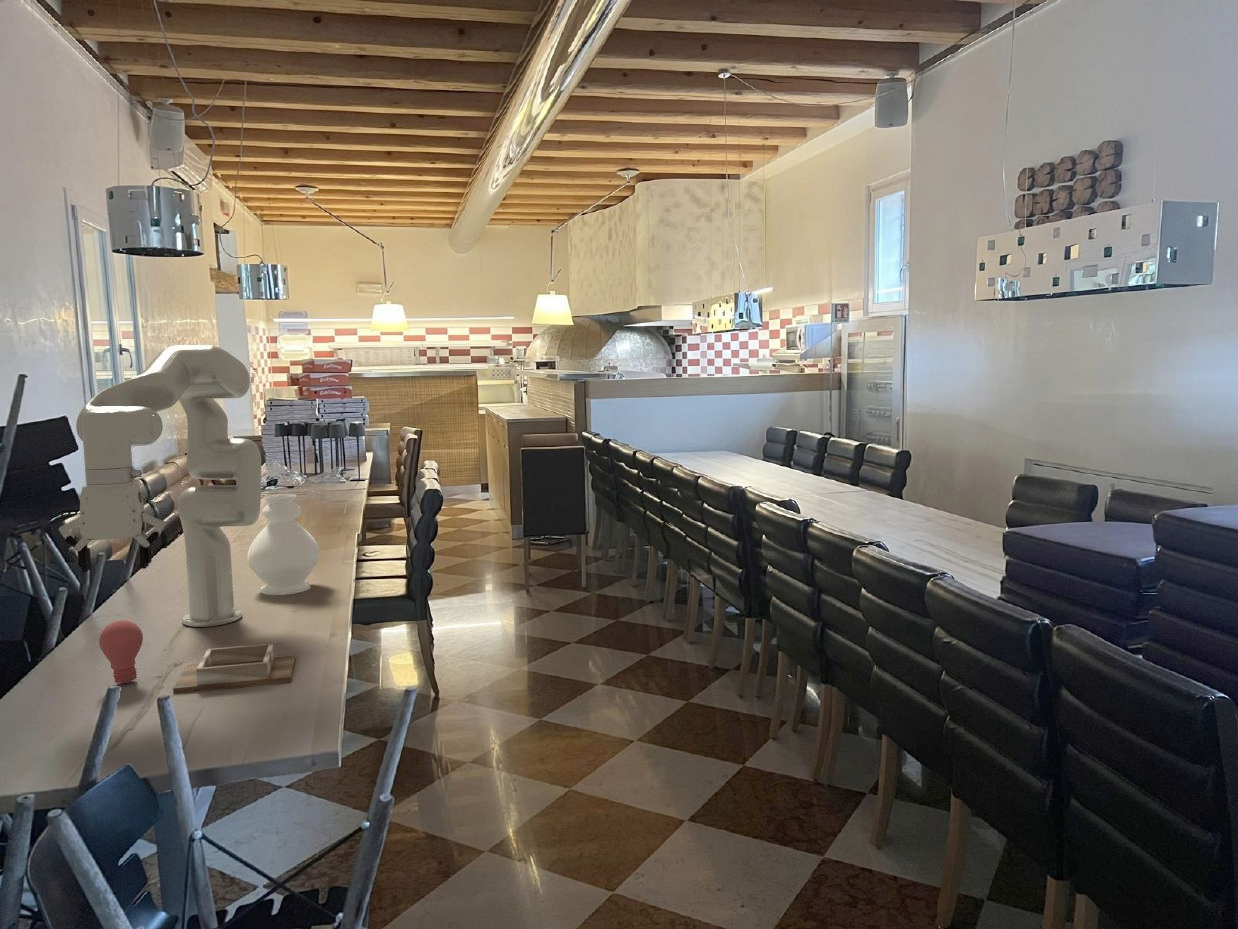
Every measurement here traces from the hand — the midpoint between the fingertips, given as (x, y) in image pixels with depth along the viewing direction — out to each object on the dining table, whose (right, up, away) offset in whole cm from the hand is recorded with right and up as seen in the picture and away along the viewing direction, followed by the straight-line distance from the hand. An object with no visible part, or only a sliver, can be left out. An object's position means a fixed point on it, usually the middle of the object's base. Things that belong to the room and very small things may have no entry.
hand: (116, 569), depth 163 cm
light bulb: (0, -22, +3) cm, 22 cm away
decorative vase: (+4, -14, +71) cm, 73 cm away
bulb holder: (+20, -21, +6) cm, 30 cm away
